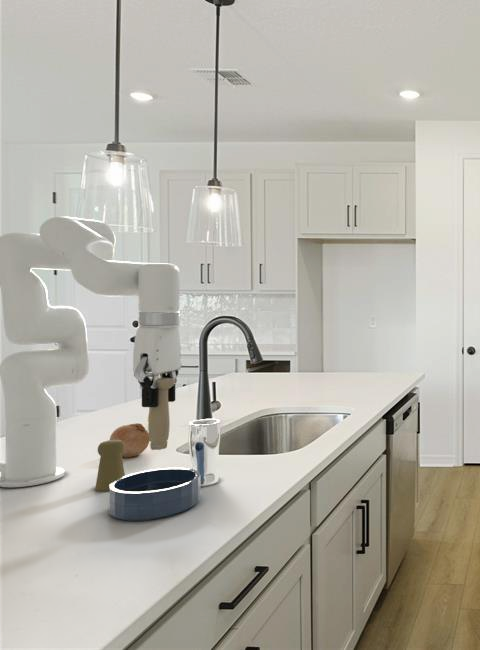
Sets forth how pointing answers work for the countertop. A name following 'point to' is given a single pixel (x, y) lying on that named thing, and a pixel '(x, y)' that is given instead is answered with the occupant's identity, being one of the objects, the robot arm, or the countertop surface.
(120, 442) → the olive tapered shaker
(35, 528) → the countertop surface
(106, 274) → the robot arm
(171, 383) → the handle
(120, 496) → the bowl
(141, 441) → the onion
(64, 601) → the countertop surface
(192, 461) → the beer glass
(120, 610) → the countertop surface
